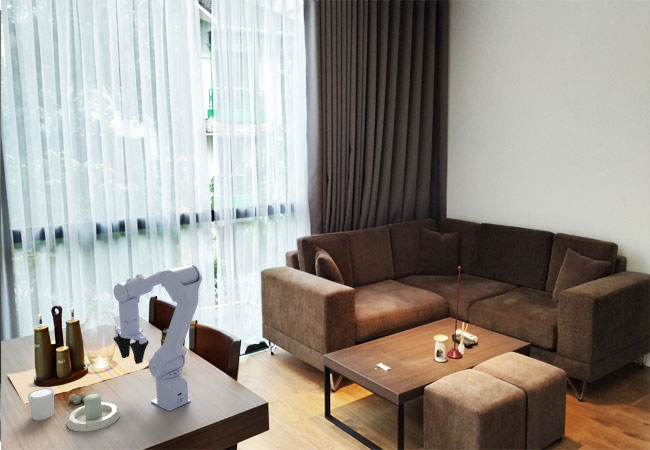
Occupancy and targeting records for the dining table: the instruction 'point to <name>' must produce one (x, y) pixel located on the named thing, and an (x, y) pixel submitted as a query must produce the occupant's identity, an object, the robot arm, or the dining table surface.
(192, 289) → the robot arm
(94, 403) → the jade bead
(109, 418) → the round bowl
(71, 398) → the bead pile
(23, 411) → the dining table surface
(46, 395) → the white cylinder
